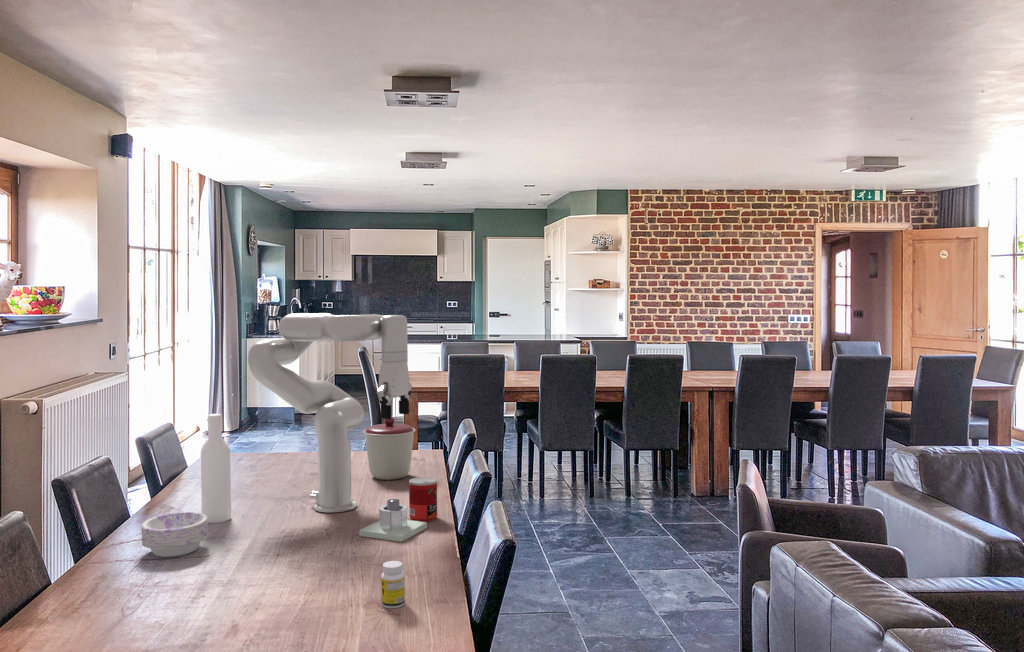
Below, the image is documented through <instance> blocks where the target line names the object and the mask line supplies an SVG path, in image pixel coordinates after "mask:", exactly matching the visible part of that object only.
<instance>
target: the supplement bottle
mask: <svg viewBox="0 0 1024 652" xmlns="http://www.w3.org/2000/svg"><path fill="white" fill-rule="evenodd" d="M403 569H404V568H403V562H401V561H399V560H389V561H385V562H384V563H383V564H382V573H381V576H380V579H381V605H382V607H383V608H386V609H399V608H402V607H403V606H404V605H405V603H406V596H405V595H406V593H405V592H406V591H405V589H406V588H405V587H406V586H405V585H406V584H405V572H403Z"/></svg>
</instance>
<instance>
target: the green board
mask: <svg viewBox="0 0 1024 652" xmlns="http://www.w3.org/2000/svg"><path fill="white" fill-rule="evenodd" d="M427 526H428V522H420V521H413V520H411V519H407V527H405V528H403V529H400V530H383V529H381V528H380V527H379V520H377V521H375V522H373V523H371V524H369V525H368V526H365V527H363V528H361V529H359V531H358V532H359V533H358V534H359V537H365V538H372V539H380V540H388V541H393V542H399V543H400V542H404V541H406V540H407V539H409V538H411V537H413V536H415V535H416V534H418V533H420V532H423V530H426V529H427Z"/></svg>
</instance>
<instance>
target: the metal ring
mask: <svg viewBox="0 0 1024 652" xmlns="http://www.w3.org/2000/svg"><path fill="white" fill-rule="evenodd" d="M378 512H379V513H378V514H379V515H378V517H379V519H378V521H379V527H380V528H381V529H383V530H400V529H403V528H405V527H407V520H408V507H407V506H406V505H405V504H400V503H399V510H393V511H390V510H387V504H385V505H382V506H380V507H379V508H378Z"/></svg>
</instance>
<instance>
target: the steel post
mask: <svg viewBox="0 0 1024 652" xmlns="http://www.w3.org/2000/svg"><path fill="white" fill-rule="evenodd" d="M386 501H387V502H386V505H387V510H390V511H393V510H399V504H400V499H399V498H389V499H387V500H386Z"/></svg>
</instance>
